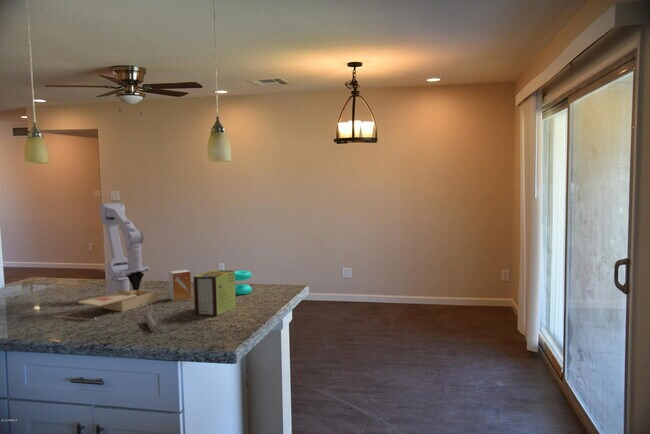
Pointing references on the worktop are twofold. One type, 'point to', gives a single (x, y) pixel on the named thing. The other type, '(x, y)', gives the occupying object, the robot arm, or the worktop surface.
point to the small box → (180, 285)
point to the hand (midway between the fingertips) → (135, 289)
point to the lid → (109, 298)
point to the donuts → (242, 287)
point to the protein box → (214, 292)
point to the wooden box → (133, 301)
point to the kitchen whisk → (148, 319)
